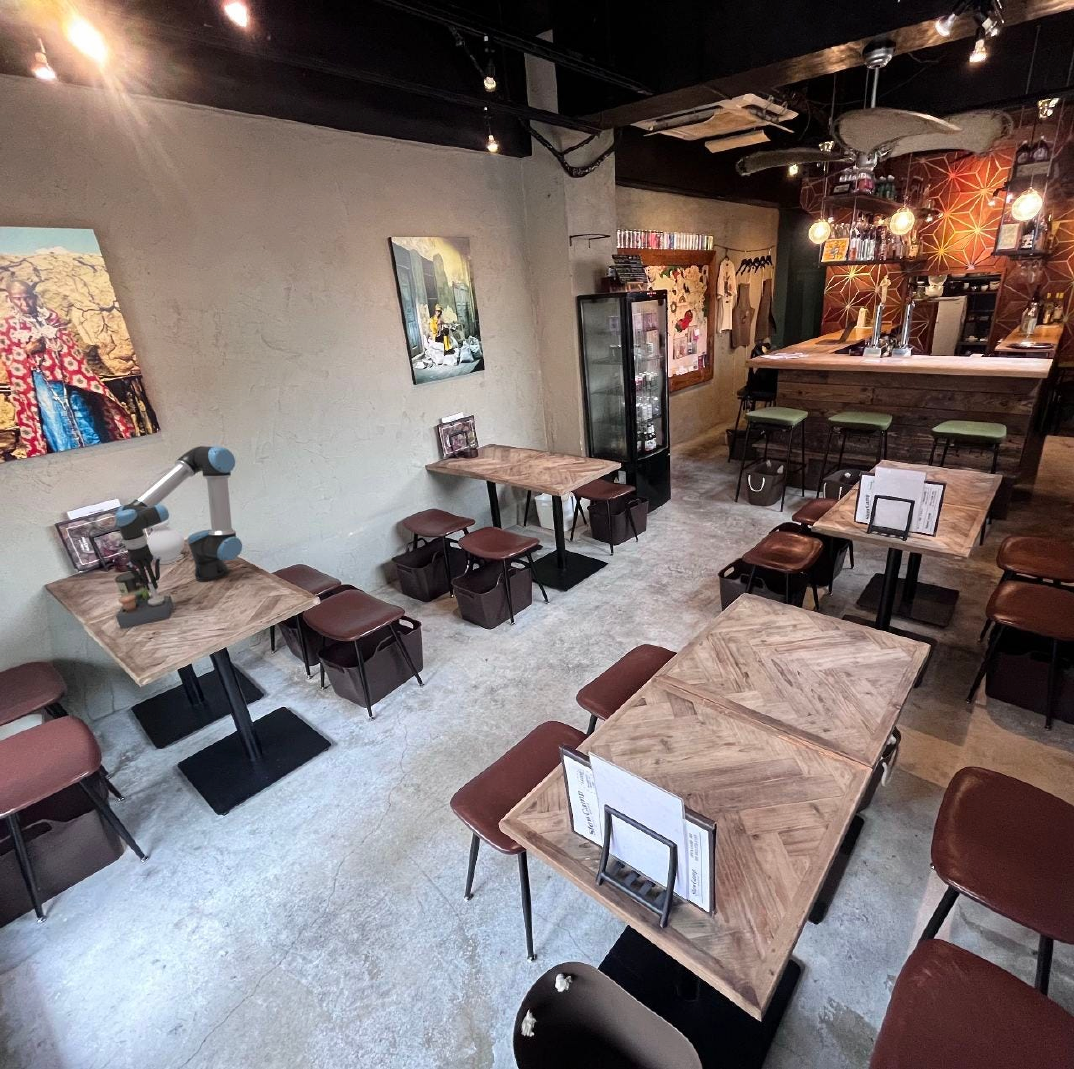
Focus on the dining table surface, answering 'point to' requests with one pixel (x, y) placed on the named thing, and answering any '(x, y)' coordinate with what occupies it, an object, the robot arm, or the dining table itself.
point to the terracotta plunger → (128, 602)
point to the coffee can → (132, 586)
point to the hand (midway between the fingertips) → (155, 595)
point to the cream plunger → (156, 600)
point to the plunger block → (145, 613)
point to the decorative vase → (165, 543)
